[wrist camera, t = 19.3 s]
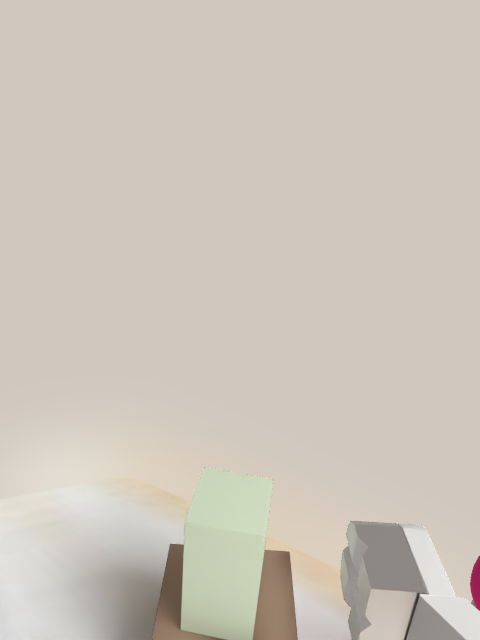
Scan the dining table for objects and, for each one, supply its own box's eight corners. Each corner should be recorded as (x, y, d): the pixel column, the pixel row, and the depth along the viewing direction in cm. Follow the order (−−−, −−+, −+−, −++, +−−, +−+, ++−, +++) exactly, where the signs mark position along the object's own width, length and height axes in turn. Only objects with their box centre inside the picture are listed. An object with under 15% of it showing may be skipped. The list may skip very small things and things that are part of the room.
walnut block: (145, 729, 31) (144, 674, 29) (169, 594, 41) (170, 543, 38) (291, 739, 32) (301, 684, 29) (282, 601, 41) (289, 551, 39)
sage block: (180, 629, 32) (184, 521, 28) (197, 567, 36) (203, 467, 33) (251, 644, 31) (266, 536, 27) (260, 579, 36) (273, 479, 32)
